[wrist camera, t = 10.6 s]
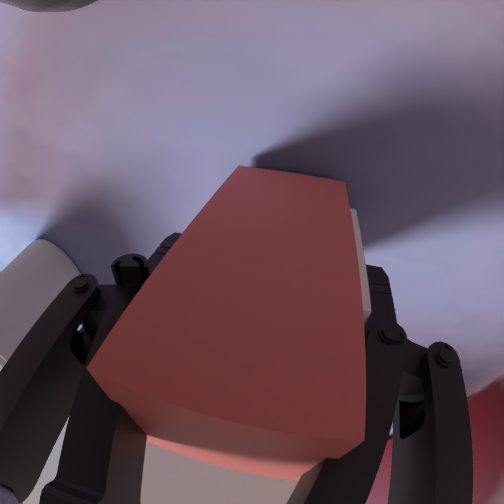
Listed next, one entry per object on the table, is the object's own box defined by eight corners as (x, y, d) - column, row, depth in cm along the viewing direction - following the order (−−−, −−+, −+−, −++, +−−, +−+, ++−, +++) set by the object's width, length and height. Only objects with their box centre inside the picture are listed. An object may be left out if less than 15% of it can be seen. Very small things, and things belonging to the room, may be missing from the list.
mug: (35, 221, 20) (-47, 297, 11) (98, 281, 22) (24, 377, 13) (30, 282, 27) (-22, 343, 18) (78, 327, 29) (31, 396, 20)
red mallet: (239, 165, 13) (86, 368, 4) (345, 181, 12) (364, 440, 4) (234, 388, 26) (201, 488, 17) (284, 398, 25) (260, 502, 16)
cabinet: (159, 366, 28) (88, 518, 12) (338, 405, 25) (307, 580, 9) (174, 403, 34) (124, 521, 18) (315, 434, 31) (287, 565, 15)
